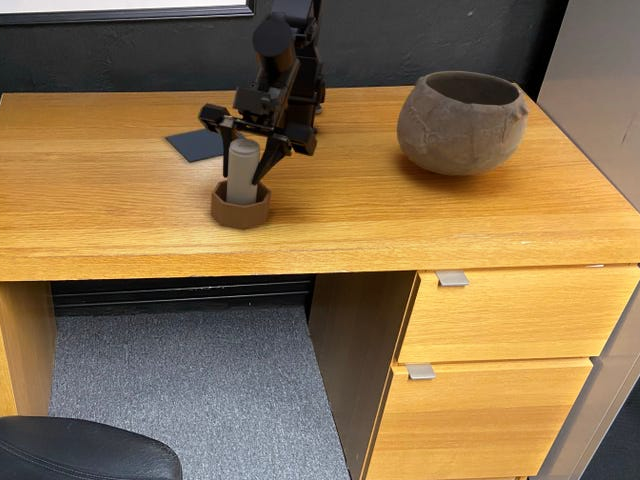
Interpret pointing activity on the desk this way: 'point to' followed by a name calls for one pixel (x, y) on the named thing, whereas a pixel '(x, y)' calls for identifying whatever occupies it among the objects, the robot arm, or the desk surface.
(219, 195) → the brown octagonal cup
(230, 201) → the beverage can
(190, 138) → the cloth
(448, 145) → the clay pot
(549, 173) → the desk surface
